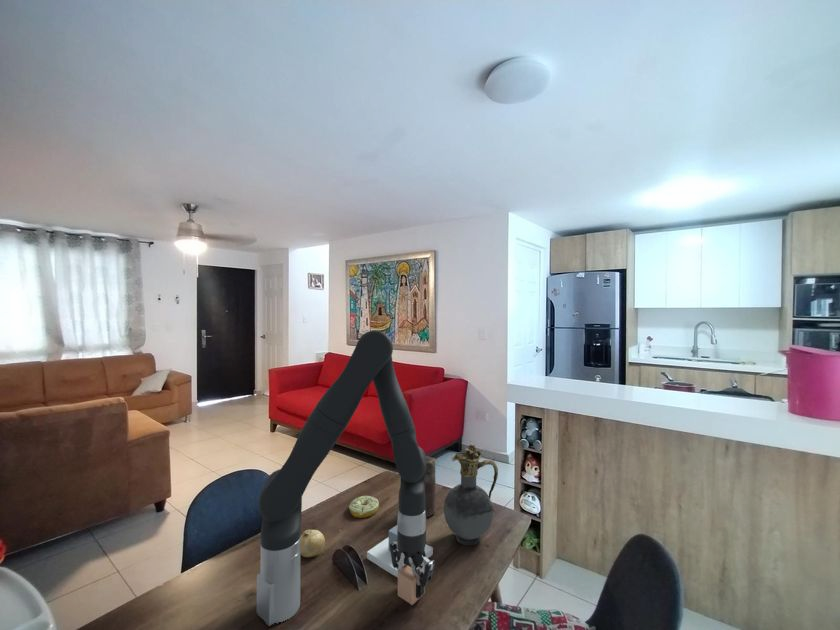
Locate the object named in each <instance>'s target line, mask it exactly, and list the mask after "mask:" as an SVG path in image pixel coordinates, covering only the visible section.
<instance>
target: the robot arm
mask: <svg viewBox="0 0 840 630" xmlns="http://www.w3.org/2000/svg"><path fill="white" fill-rule="evenodd" d="M392 342H393V341H392V340H391V338H390V337H389V335H387V333H385V332H383V331H380V330H369V331H366V332H365V333H363V334H362V335H361V336H360V337H359V339H358V341H357V343H356V345H355V348H354V350H353V352H352V354H351V356H350V358H349V359H348V360H347V363H346V365H345V367H344V369H343V370H342V372H341V373H340V375H339V376H337V379H335V381H334V382H333V383H332V384H331V385H330V387H329V388H328V389H327V390H326V391H325V393H324V394H323V395H322V397H321V398H320V399H319V401H318V402H317V403H316V405H315V407H314V408H313V409H312V411H311V413H310V415H308V417H307V419H306V421H305V423H304V424H303V426H302V428H301V430H300V433H299V435H298V436H297V439H296V440H295V443H294V445H293V447H292V450H291V452H290V453H289V456H288V457H287V459H286V460H285V462H284V463H283V465H282V466H281V468H280V469H277V470H274V471H273V472H272V473H271V474H269V476H268V477H267V478H266V480H265V481H264V484H263V486H262V488H261V491H260V494H259V497H258V510H259V513H260V515H261V517H262V523H261V530H260V568H259V569H260V571H259V573H258V574H257V575H256V614H257V613H258V614H259V615H260V617H261V618H262V619H263V620H264V621H265V622H266V623H265V622H264V621H263V620H262V619H261V618H260V617H259V618H260V619H261V620H262V621H263V622H264V623H265V624H266V625H267V624H268V625H269V626H270V625H272V624H273V625H275V624H274V623H276V624H279V622H281V623H283V621H284V622H285V620H286V621H288V620H290V619H291V618H292V617H293V616H295V615H296V614H297V612H298V611H299V609H300V606H301V555H300V546H301V532H302V531H301V530H302V516H303V515H302V510H303V508H302V507H303V506H302V504H303V502H302V501H303V495H304V493H305V491H306V489H307V487H308V486H309V484H310V482H311V479H313V476H314V474H315V473H316V471H317V470H318V468H319V467H320V466H321V464H322V463H323V461H324V460H325V459H326V458H327V456H328V455H329V453H330V452H331V450H332V449H333V447H334V446H335V444H336V443H337V442H338V440H339V439H340V438H341V436H342V434H343V433H344V431H345V430H346V428H347V426H348V425H349V423H350V422H351V419H352V418H353V416H354V414H355V412H356V410H357V409H358V407H359V405H360V403H361V400H362V398H363V396H364V394H365V393H366V391H367V389H368V387H369V386H370V385H371V383H372V382H373V384H374V388H375V391H376V396H377V398H378V403H379V407H380V410H381V416H382V419H383V422H384V426H385V428H386V431H387V434H388V437H389V439H390V442H391V447H392V452H393V457H394V462H395V463H394V464H395V467H396V470H397V473H398V475H399V476H400V486H399V489H398V490H399V491H398V510H397V519H396V520H397V521H396V523H397V524H396V525H397V540H395V541H394V542H393V543H391V544H390V552H391V558H392V565H393V567H394V568H397V571H398V572H399V571H400V570H402V569H403V568H404V567H405V566H410V567H411V568H412V572H413V575H415V578H416V598H418V600H419V599H420V598H421V597H422V596H424V595H425V593H424V586H425V587H426V586H427V584H429V583H430V582H432V579H433V575H434V570H435V566H436V565H435V564H436V562H435V559H431V560H430V559H429V558H426V554H425V545H426V544H427V517H426V511H425V472H426V456H427V455H426V453H425V451H424V449H423V448H421V447H420V446H419V445H418V441H417V432H416V427H415V424H414V420H413V418H412V415H411V414H412V413H411V412H410V409H409V405H408V403H407V401H406V399H405V397H404V394H403V391H402V388H401V386H400V384H399V381H398V378H397V375H396V371H395V368H394V362H393V351H394V346H393V345H394V344H393V343H392ZM396 557H397V560H396ZM418 567H419V568H418ZM416 568H418V569H416ZM419 574H421V577H420V576H419ZM258 614H257V615H258ZM259 615H258V616H259ZM287 619H288V620H287ZM268 625H267V626H268ZM273 625H272V626H273ZM269 626H268V627H269ZM270 627H271V626H270Z"/></svg>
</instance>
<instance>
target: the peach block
mask: <svg viewBox="0 0 840 630" xmlns="http://www.w3.org/2000/svg"><path fill="white" fill-rule="evenodd" d="M418 568H419V567H418ZM418 568H416V569H418ZM419 576H420V577H421V574H419ZM425 588H426V586H424V594H425V593H426V590H425ZM397 596H398V597H399V598H401V599H402V600H404V601H405V602H407V604H410V605H411V606H413V605H414V604H416V603H417V602H418V601H419V599H418V598H416V578H415V575H413V572H412V568H411V567H410V566H405V567H404V568H403V569H402V570H400V571H399V572H398V578H397Z"/></svg>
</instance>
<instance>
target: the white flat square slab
mask: <svg viewBox="0 0 840 630" xmlns="http://www.w3.org/2000/svg"><path fill="white" fill-rule="evenodd" d="M388 548H389V536H388V537H386V538H385V539H384V540H382V541H380V542H379V543H378V544H375V546H374V547H371V549H368V551H367V552H366V559H367V560H369V561H371V562H372V563H374V564H375V565H377V566H378V567H379V568H381V569H383V570H385V571H386V572H387V573H389V574H391V575H392V576H394V577H396V578H397V579H398V571H397V568H394V567H393V565H392V558H391V552H390V551H388ZM433 551H434V548H433V547H432V546H430V545H428V544H427V543H426V545H425V554H426V558H428V559H429V558H431V557H432V556H433V554H434V552H433ZM396 560H397V557H396Z"/></svg>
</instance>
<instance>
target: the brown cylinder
mask: <svg viewBox="0 0 840 630" xmlns="http://www.w3.org/2000/svg"><path fill="white" fill-rule="evenodd" d="M436 486H437V485H436V458H435V457H431V456H428V455H426V472H425V511H426V518H428V517H432V515H434V514H436V512H437V497H436V495H437V493H436V489H437V488H436Z"/></svg>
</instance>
